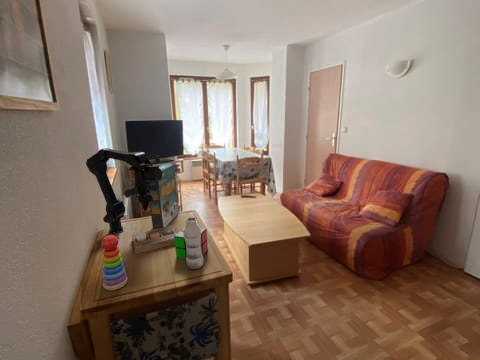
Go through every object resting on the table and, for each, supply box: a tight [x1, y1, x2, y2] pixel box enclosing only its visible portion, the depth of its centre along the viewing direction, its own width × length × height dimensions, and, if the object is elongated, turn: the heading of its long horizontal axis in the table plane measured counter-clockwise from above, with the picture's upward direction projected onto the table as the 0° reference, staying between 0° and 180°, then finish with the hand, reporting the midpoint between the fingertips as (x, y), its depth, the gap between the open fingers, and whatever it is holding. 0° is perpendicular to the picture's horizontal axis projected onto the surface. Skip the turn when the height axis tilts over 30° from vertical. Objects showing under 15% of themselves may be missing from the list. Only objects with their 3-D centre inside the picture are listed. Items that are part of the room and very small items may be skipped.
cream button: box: [135, 231, 147, 242], centre depth 116 cm, size 4×4×3 cm
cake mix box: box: [148, 163, 180, 229], centre depth 140 cm, size 22×6×30 cm, turn 172°
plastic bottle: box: [183, 217, 204, 270], centre depth 97 cm, size 6×7×20 cm
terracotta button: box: [150, 233, 160, 239], centre depth 119 cm, size 4×4×3 cm
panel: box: [131, 225, 178, 255], centre depth 120 cm, size 14×19×3 cm
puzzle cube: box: [174, 226, 209, 260], centre depth 108 cm, size 10×10×10 cm
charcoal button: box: [163, 230, 173, 236], centre depth 122 cm, size 4×4×3 cm
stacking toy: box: [101, 234, 129, 291], centre depth 88 cm, size 8×8×19 cm
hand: (145, 210), depth 123 cm, fingers closed
